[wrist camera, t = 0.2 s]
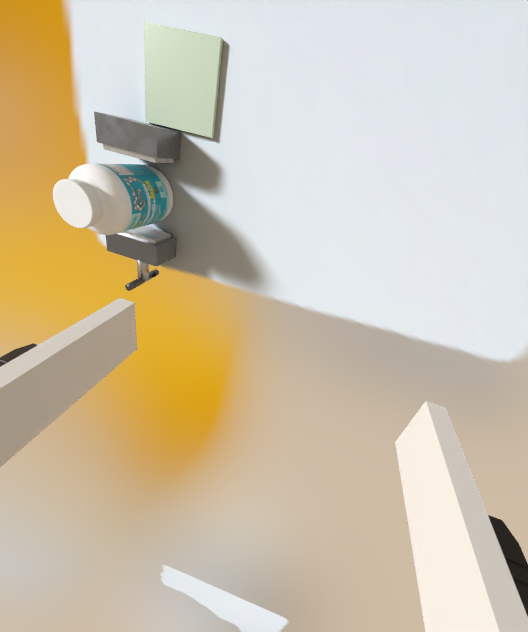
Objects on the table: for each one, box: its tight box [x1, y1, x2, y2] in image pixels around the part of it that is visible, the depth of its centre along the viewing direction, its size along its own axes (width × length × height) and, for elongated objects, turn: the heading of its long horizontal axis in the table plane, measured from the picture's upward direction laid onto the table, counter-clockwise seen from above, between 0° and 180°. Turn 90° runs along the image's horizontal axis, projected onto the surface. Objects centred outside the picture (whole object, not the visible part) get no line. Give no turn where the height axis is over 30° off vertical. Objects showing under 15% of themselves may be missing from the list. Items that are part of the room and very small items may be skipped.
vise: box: [94, 112, 181, 291], centre depth 39 cm, size 21×8×7 cm, turn 167°
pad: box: [144, 22, 223, 138], centre depth 32 cm, size 9×9×1 cm
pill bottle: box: [53, 164, 173, 235], centre depth 34 cm, size 8×7×14 cm
